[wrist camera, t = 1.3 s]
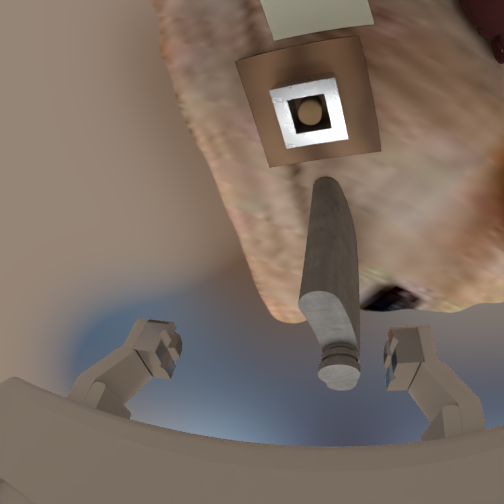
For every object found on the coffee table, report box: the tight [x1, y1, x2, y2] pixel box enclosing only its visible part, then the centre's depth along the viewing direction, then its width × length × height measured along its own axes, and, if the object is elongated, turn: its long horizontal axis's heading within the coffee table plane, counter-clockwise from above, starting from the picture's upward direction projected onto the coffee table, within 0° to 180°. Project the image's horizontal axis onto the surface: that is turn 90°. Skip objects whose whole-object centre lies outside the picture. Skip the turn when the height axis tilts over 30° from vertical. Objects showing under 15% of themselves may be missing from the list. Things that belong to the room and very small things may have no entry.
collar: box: [269, 72, 348, 149], centre depth 26 cm, size 6×6×4 cm
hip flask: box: [298, 177, 360, 390], centre depth 31 cm, size 16×4×20 cm, turn 20°
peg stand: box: [235, 36, 381, 167], centre depth 27 cm, size 12×12×6 cm
